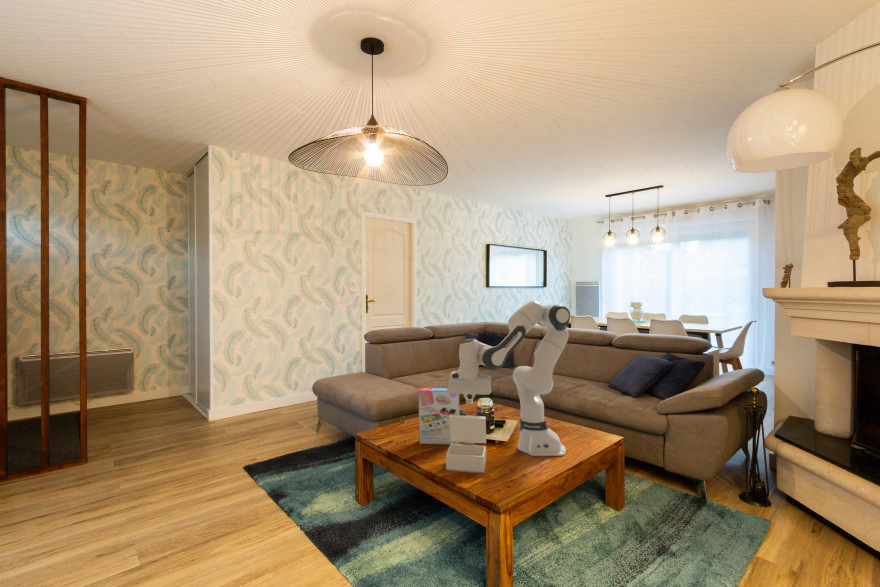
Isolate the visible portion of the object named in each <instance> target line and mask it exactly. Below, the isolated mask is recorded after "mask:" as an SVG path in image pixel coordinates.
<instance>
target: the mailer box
mask: <svg viewBox="0 0 880 587" xmlns="http://www.w3.org/2000/svg"><path fill="white" fill-rule="evenodd" d="M486 463H487V446H486V445H476V444H474V445H463V444H461V443H460V444H449V447H448V449H447V451H446V453H445V471H447V472H460V473H462V472H463V473H473V474H485V468H486Z"/></svg>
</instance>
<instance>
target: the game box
mask: <svg viewBox="0 0 880 587" xmlns="http://www.w3.org/2000/svg"><path fill="white" fill-rule="evenodd" d="M417 398H418V399H417V400H418V401H417V402H418V403H417V404H418V444H419V445H424V444H425V445H450V444H461V442H456V441H451V438H450V418H449V415H459V409H460V394H449V393H448V387H447V388H445V387H444V388H443V387H442V388H441V387H438V388H437V387H420V388H419V389H418V390H417Z"/></svg>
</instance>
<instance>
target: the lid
mask: <svg viewBox="0 0 880 587" xmlns="http://www.w3.org/2000/svg"><path fill="white" fill-rule="evenodd" d="M466 415H467V414H466ZM466 415H449V418H450V438H451V441H456V442H460V443H462V445H475V444H487V423H486V422H487V421H486V420H487V419H486V416H483V415H467V416H466Z"/></svg>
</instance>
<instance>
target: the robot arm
mask: <svg viewBox="0 0 880 587" xmlns="http://www.w3.org/2000/svg"><path fill="white" fill-rule="evenodd" d="M570 320H571V311H570V310H569V308H568V307H566V305H565V306H564V305H561V304H548V305H541V303H540V302H538V301H536V300H530V301H528V302H526V303H525V304H523V305H522V306H521V307H519V308H518V309H517V310H516V311H514V313H513V314H511V316H510V317H509V318H508V320H507V327H508V330H509V333H508V334H507V335H506V336H505V337H504V339H502V340H501V341H500V343H499V344H497V345H496V346H492V345H490V344H489V345H488V344H486V343H483V342H481V341H479V340H477V339H476V338H472V337H471V338H466V339H465V338H464V339H463V340H462V341H461V342H460V344H459V347H458V348H459V349H458V352H459V353H458V359H459V366H458V368H459V369H457V370H453V371H451V372H450V374H449V380H448V382H447V388H448V393H449V394H459V395H463V398H464V399H465V402H466V404H469V405H470V404H473V403H474V398H475V397H476V395H483V396H484V395H489V396H490V394H491V393H492V387H491V383H492V376H491V375H490V374H488V373H484V374H483V373H479V366H480V365H482V366H483V367H486V368H487V369H489V370H491V371H497V370H499V369H501V368H502V367H503V366H504V365H505V363H506V360H507V359H508V357H509V355H511V353H512V352H513V351H514V349H516V347H518V345H519V344H520V343H521V342H522V341H523V339H524V338H525V337H526V335H527V334H528V332H530V331H531V330H532V329H533V328H534V327H535V325H539V326H541V327H546V332H545V335H544V337H543V338H542V339H541V341H540V343H539V344H538V346H537V348H536V349H535V351H534V353H533V355H534V356H533V357H534V363H533V365H532V367H531V366H527V365H520V366H517V367H515V369H514V370H513V373H512V380H513V382H514V383H515V386H516V389H517V393H518V397H519V401H520V402H519V403H520V417H519V430H520V432H519V439H518V444H517V449H518V450H519V451H520V452H523V453H525V454H527V455H530V456H532V457H554V456H555V457H556V456H557V457H558V456H559V457H560V456H561V457H563V456H564V455H566V453H567V450H566V447H565V445H564V444H562V443H561V439H560V437H559V435H558V434H557V433H556V432H554V431H553V430H552V429H551V428H550V427H551V425H550V423H549V421H548V419H545V405H544V402H543V400H542V397H541V395H547V394H549V393H551V391H552V390H553V388H554V379H553V373H554V368H555V366H556V364H557V362H558V360H559V357H560V356H561V354H562V353H563V350H564V349H565V348H566V345H567V343H568V340H569V337H570V333H569V331H568V329H567V328H568V327H569V323H570ZM468 395H471V398H468Z"/></svg>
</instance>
